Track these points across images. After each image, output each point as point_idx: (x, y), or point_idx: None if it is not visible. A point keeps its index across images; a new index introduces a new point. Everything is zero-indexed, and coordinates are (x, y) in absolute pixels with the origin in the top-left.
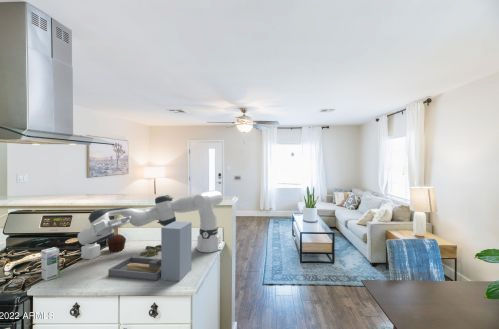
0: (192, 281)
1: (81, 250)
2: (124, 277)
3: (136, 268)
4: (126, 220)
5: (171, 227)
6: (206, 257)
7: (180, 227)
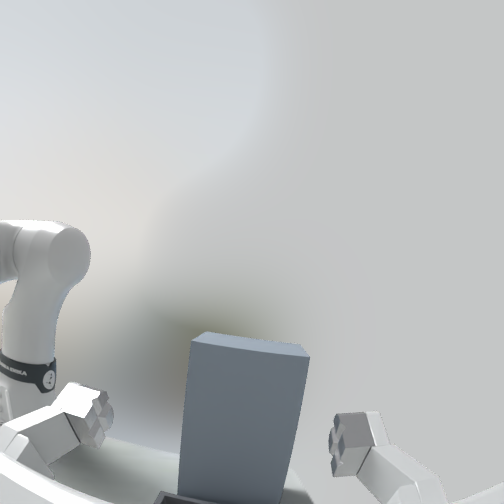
0: None
1: None
2: None
3: None
4: (43, 465)
5: (292, 349)
6: None
7: (283, 343)
